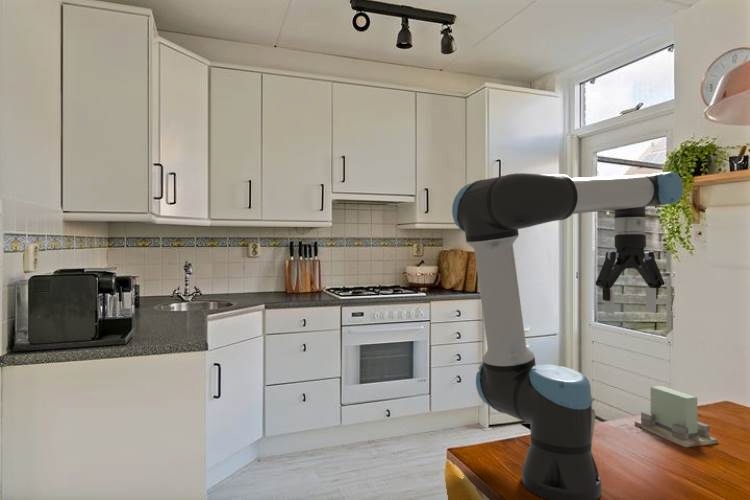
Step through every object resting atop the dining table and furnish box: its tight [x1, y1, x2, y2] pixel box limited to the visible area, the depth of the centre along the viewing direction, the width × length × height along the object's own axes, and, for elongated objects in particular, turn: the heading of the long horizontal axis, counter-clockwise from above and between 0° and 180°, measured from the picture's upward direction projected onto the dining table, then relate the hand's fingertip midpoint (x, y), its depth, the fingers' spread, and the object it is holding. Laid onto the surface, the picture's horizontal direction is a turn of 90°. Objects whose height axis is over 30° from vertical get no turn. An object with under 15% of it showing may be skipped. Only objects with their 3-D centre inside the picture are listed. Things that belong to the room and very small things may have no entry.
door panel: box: [650, 385, 699, 438], centre depth 126 cm, size 4×11×10 cm, turn 15°
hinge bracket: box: [634, 411, 719, 448], centre depth 126 cm, size 10×16×4 cm, turn 15°
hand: (630, 312), depth 129 cm, fingers open, 13 cm apart
